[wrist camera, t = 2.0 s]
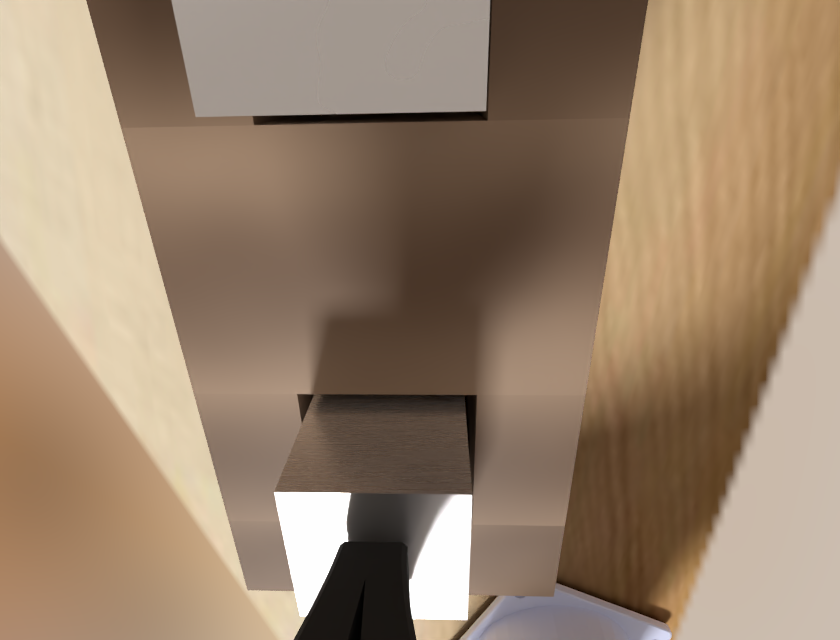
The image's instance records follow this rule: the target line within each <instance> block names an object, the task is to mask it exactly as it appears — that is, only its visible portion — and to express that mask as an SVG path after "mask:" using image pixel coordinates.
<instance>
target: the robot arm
mask: <svg viewBox="0 0 840 640" xmlns="http://www.w3.org/2000/svg"><path fill="white" fill-rule="evenodd" d="M671 637H672V633H671V631H670V629H669V627H668V625H667V624H665V623H663V622H660V621H658V620H655V619H652V618H650V617H647V616H644V615H641V614H639V613H636V612H633V611H631V610H628V609H625V608H623V607H620V606H617V605H615V604H612V603H609V602H606V601H604V600H601V599H598V598H596V597H593V596H590V595H588V594H585V593H582V592H580V591H577V590H574V589H572V588H569V587H566V586H563V585H561V584H558V583H556V585H555V592H554V597H542V596H498V597H497V598H496V599H495V600H494V601H493V602H492V603H491V604H490V606H489V607H488V608H487V609H486V610H485V611H484V612H483V613H482V615H481V616H480V617H479V618H478V619H477V620H476V621H475V622H474V624H473V625H472V626H471V627H470V628H469V629H468V630H467V631H466V633H465V634H464V635H463V636H462V637H461V638H460V639H459V640H669V639H670V638H671ZM294 640H416V635H415V630H414V624H413V618H412V612H411V605H410V586H409V564H408V546H407V545H405V544H404V543H403V542H361V541H344V542H343V543H342V544H340V545H339V548H338V550H337V553H336V555H335V558H334V560H333V563H332V565H331V567H330V569H329V572H328V574H327V576H326V578H325V580H324V582H323V584H322V587H321V589H320V591H319V593H318V595H317V597H316V599H315V601H314V603H313V605H312V607H311V609H310V611H309V612H308V614H307V616H306V618H305V620H304V622H303V624H302V625H301V627H300V629H299V631H298V633H297V635H296V636H295V638H294Z"/></svg>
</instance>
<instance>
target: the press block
mask: <svg viewBox="0 0 840 640" xmlns="http://www.w3.org/2000/svg"><path fill="white" fill-rule="evenodd" d="M86 1H87V5H88V8H89V12H90V16H91V19H92V23H93V27H94V30H95V34H96V37H97V41H98V45H99V48H100V52H101V56H102V59H103V63H104V67H105V70H106V74H107V78H108V81H109V85H110V89H111V92H112V96H113V100H114V103H115V107H116V111H117V114H118V118H119V122H120V125H121V129H122V133H123V136H124V140H125V143H126V147H127V151H128V154H129V158H130V162H131V165H132V169H133V173H134V176H135V180H136V184H137V187H138V191H139V195H140V198H141V202H142V206H143V209H144V213H145V217H146V220H147V224H148V228H149V231H150V235H151V239H152V242H153V246H154V249H155V253H156V257H157V260H158V264H159V268H160V271H161V275H162V279H163V282H164V286H165V290H166V293H167V297H168V301H169V304H170V308H171V312H172V315H173V319H174V323H175V326H176V330H177V334H178V337H179V341H180V345H181V348H182V352H183V355H184V359H185V363H186V366H187V370H188V374H189V377H190V381H191V385H192V388H193V392H194V396H195V399H196V403H197V407H198V410H199V414H200V418H201V421H202V425H203V429H204V432H205V436H206V440H207V443H208V447H209V451H210V454H211V458H212V461H213V465H214V469H215V472H216V476H217V480H218V483H219V487H220V491H221V494H222V498H223V502H224V505H225V509H226V513H227V516H228V520H229V524H230V527H231V531H232V535H233V538H234V542H235V546H236V549H237V553H238V557H239V560H240V564H241V567H242V571H243V575H244V578H245V582H246V586H247V589H248V590H269V591H295V590H294V586H293V581H292V576H291V571H290V566H289V562H288V557H287V552H286V547H285V542H284V538H283V533H282V528H281V523H280V518H279V513H278V509H277V504H276V499H275V494H274V491H275V489H276V486H277V484H278V481H279V479H280V476H281V474H282V471H283V469H284V467H285V464H286V462H287V459H288V457H289V454H290V452H291V449H292V447H293V445H294V442H295V440H296V437H297V435H298V432H299V430H300V427H301V425H302V423H303V420H304V418H305V415H306V413H307V410H308V408H309V405H310V403H311V401H312V398H313V396H314V394H376V395H467V399H466V423H467V435H468V448H469V460H470V472H471V485H472V516H471V542H470V569H469V595H496V596H542V597H554V592H555V585H556V579H557V573H558V566H559V560H560V554H561V547H562V541H563V535H564V528H565V522H566V516H567V510H568V503H569V497H570V491H571V484H572V478H573V472H574V465H575V459H576V453H577V446H578V440H579V434H580V427H581V421H582V415H583V408H584V402H585V396H586V389H587V383H588V377H589V370H590V364H591V358H592V351H593V345H594V339H595V333H596V326H597V320H598V314H599V307H600V301H601V295H602V288H603V282H604V276H605V269H606V263H607V257H608V250H609V244H610V238H611V231H612V225H613V219H614V212H615V206H616V200H617V193H618V187H619V181H620V174H621V168H622V162H623V156H624V149H625V143H626V137H627V130H628V124H629V118H630V111H631V105H632V99H633V92H634V86H635V80H636V73H637V67H638V61H639V54H640V48H641V42H642V35H643V29H644V23H645V16H646V10H647V4H648V0H490V20H489V47H488V74H487V101H486V111H467V112H418V113H369V114H320V115H270V116H221V117H196V116H195V111H194V107H193V102H192V97H191V92H190V87H189V83H188V78H187V73H186V68H185V63H184V59H183V54H182V49H181V44H180V39H179V35H178V30H177V25H176V20H175V15H174V11H173V6H172V1H171V0H86Z"/></svg>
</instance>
